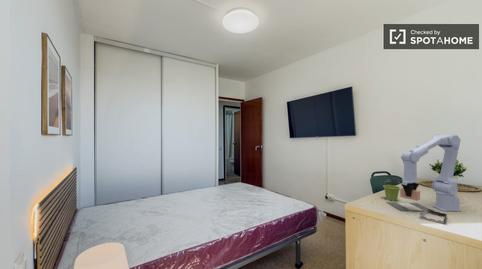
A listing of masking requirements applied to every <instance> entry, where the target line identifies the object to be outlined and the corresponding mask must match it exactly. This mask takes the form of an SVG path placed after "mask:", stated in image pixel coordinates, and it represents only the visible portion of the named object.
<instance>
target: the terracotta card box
mask: <svg viewBox="0 0 482 269" xmlns="http://www.w3.org/2000/svg"><path fill="white" fill-rule="evenodd" d="M399 194H400V195H399V196H400V197H399V198H402V199H408V200H412V201H417V202H418V201H420V200H421V190H417V189H416V190H412V195H411V197H408V196H406V194H405V191H404V188H403V187H400V190H399Z"/></svg>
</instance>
